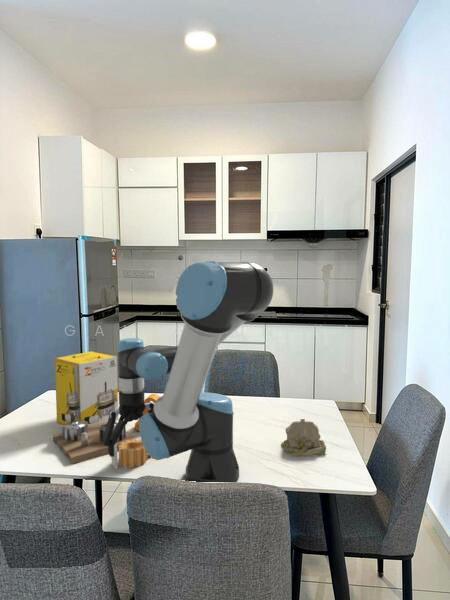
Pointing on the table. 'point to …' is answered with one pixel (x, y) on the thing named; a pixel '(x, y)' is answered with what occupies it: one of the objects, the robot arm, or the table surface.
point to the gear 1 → (74, 429)
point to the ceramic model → (303, 439)
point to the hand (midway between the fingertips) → (133, 460)
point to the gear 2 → (102, 430)
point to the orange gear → (132, 453)
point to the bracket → (151, 398)
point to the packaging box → (86, 387)
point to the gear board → (85, 451)
